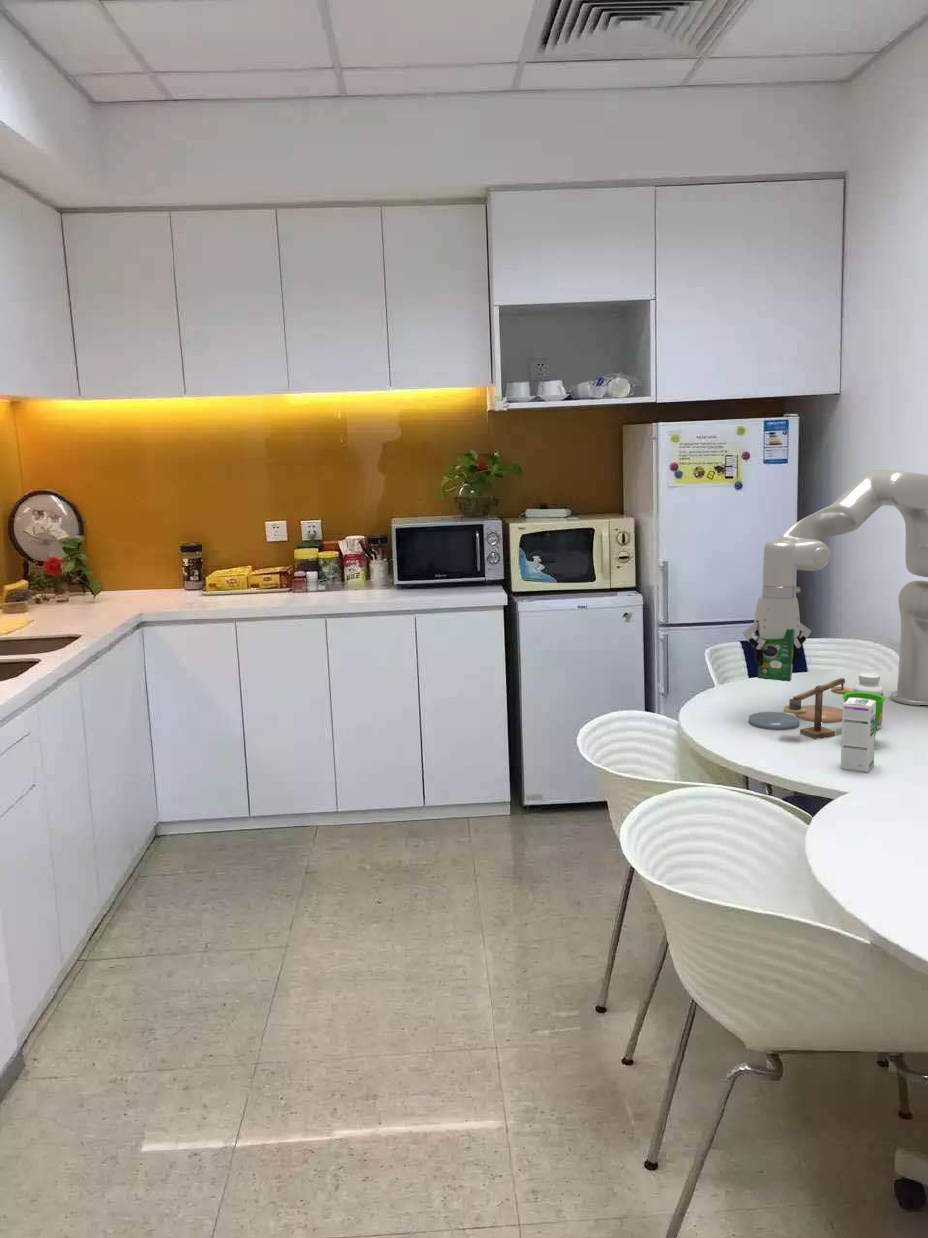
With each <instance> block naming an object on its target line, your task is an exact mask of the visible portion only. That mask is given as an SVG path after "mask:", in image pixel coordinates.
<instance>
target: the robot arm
mask: <svg viewBox="0 0 928 1238" xmlns="http://www.w3.org/2000/svg"><path fill="white" fill-rule="evenodd" d="M883 506H890V507H894V508H896V509H897V510H898V511H899V513H900V514H901V516H902V518H903V520H904V526H905V566H906V570H907V571H908V572H909V573H910V574H911V575H915V576H918V577H923V578H928V474H926V473H925V474H924V473H917V472H909V471H905V470H904V471H903V470H902V471H901V470H879V469H876V470H869V471H868V472H866V473H864V474H862V475H861V476H860V477H859V478H857V480H856V481H855V482H854V483H853V484H852V485H850V487H849V488H847V489H846V490H845V492H843V493H842V494H841V495H840V496H839V497H838V498H837V499H836V500H834V502H832V503H831V504H830V505H828V506H826V507H824V508H821V509H819V510H817V511H816V512H814V513H812V514H809V515H807V516H806V517H803V518H802V519H800V520H798V521H797V522H796V523H794V524H793V525H791V527H790V528H789V529H787V531H785V532H784V533H783V534H782V535H781V536H780V537H779V539H778V540H770V541H766V543H765V544H764V548H763V563H762V565H763V566H762V567H763V569H762V591H761V593H762V594H761V596H759V597H758V599H757V602H756V605H755V614H754V619H753V620H754V621H753V624H752V625H750V626H749V627H747V629H745V630H743V631H742V634H743V636H744V638H745V639H746V640H747V642H748V643H749V644H750V645H751V646H752V647H753V660H754V662H755V664H756V665H757V666H758V665H759V666H762V665H763V650H762V646H763V645H764V643H765V642H766V640H780V639H783V638H784V636H785V633H786V630H787V629H794V651H793V665H797V662H798V660H799V649H800V648H802V647H801V646H802V645H803V644H804V643H805V642H806V640H807V638H808V637H809V636H810V634H811V632H812V629H810V628H808V627H807V626H805V625H804V624H803V623H801V620H800V618H801V617H800V608H799V606H800V605H799V601H798V598H797V597H796V596H797V593H798V594H799V593H801V587H800V586H797V585H796V577H797V576H796V575H797V572H798V571H809V572H813V571H814V572H815V571H819V570H822V569H823V568H825V567H827V565H828V563H829V562H830V560H831V554H832V553H831V549H830V547H829V546H828V545H827V544H826V543H825V542H823V541H822V540H824V539H827V538H831V537H837V536H841V535H846V534H848V533H851V532H854V531H856V530H858V528H860V527H861V526H862V525H863V524H864V523H865V522H866V521H867V520H868V519H869V518H870V517H871V516H873V514H874V513H875V512H876V511H878V509H879V508H881V507H883ZM897 602H898V611H899V615H900V616H899V617H900V642H899V643H900V644H899V655H898V656H899V659H898V672H897V673H898V675H897V676H898V678H897V690H895V691H892V692H891V693H890V699H891V700H893V701H895V702H897V703H900V704H904V705H905V704H906V705H912V706H920V705H928V580H927V581H926V580H913V581H910V582H907V583H906V584H904V585H903V587H902V588H901V589H900V592H899V594H898V601H897ZM800 632H801V633H800ZM752 635H754V636H755V637H756V638H754V637H753V636H752Z"/></svg>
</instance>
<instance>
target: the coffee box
mask: <svg viewBox="0 0 928 1238" xmlns="http://www.w3.org/2000/svg"><path fill="white" fill-rule="evenodd" d="M762 650H763V665H762V666H759V665H757V666H758V667H757V668H758V669H757V679H759V680H761V679H763V680H771V681H772V680H773V681H781V682H791V681H792V678H793V665H794V664H793V651H794V629H787V630H786V633H785V636H784V638H783V639H780V640H766V642H765V643H764V645H763V646H762Z"/></svg>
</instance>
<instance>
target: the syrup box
mask: <svg viewBox="0 0 928 1238" xmlns="http://www.w3.org/2000/svg"><path fill="white" fill-rule="evenodd" d="M842 710H843V717H842V721H841V749H840V753H841V754H840V768H841V769H844V770H848V771H854V772H855V771H856V772H861V773H869V771H871V769H872V768H873V766H874V764H875V745H876V735H875V719H876V701H875V700H871V699H865V698H850V697H849V699H848V700H847V701H845V702H843V704H842Z"/></svg>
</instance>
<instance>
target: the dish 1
mask: <svg viewBox="0 0 928 1238" xmlns="http://www.w3.org/2000/svg"><path fill="white" fill-rule="evenodd" d="M748 724H749V725H750V726H751V727H752V726H753V727H754V728H757V729H758V728H759V729H762V730H766V731H767V730H769V731H788V730H789V731H790V730H795V729H797V728H799V727H800V724H801V723H800V718H799V717H797V716H796V715H794V714H791V713H787V712H779V711H777V712H775V711H762V712H761V711H759V712H754V713H752V714H749V715H748Z"/></svg>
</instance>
